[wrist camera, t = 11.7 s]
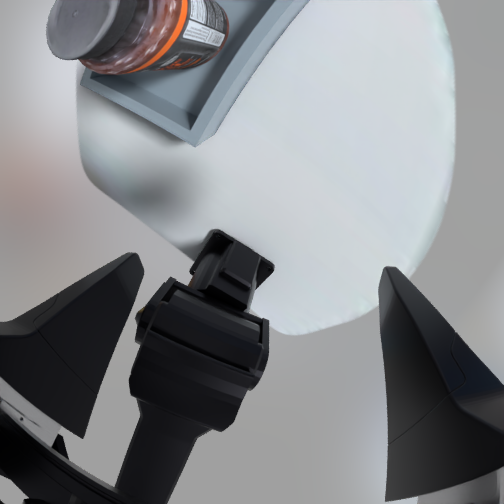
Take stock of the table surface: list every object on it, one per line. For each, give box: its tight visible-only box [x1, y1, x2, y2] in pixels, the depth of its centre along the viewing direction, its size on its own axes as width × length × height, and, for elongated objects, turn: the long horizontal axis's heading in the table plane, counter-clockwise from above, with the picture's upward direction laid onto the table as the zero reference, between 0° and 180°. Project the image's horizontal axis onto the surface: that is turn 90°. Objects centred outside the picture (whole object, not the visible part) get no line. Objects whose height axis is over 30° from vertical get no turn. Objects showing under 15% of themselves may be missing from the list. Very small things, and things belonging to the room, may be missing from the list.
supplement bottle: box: [46, 0, 229, 75], centre depth 9 cm, size 6×6×11 cm
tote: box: [80, 0, 309, 147], centre depth 13 cm, size 13×11×4 cm
